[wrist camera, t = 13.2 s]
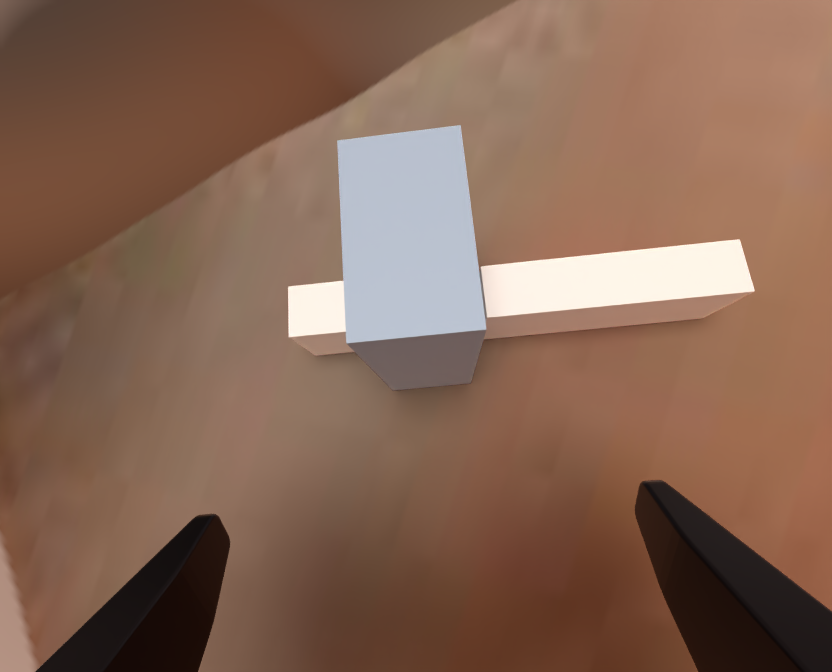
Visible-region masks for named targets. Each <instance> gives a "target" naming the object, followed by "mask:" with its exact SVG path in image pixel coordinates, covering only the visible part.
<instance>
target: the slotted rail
mask: <svg viewBox="0 0 832 672" xmlns="http://www.w3.org/2000/svg"><path fill="white" fill-rule="evenodd" d="M480 282H481V290H482V298H483V306H484V314H485V322H486V333H485V336H484V339H494V338H504V337H515V336H525V335H536V334H546V333H557V332H567V331H577V330H588V329H598V328H609V327H619V326H630V325H640V324H650V323H661V322H671V321H682V320H692V319H703V318H705V317H707V316H708V315H710V314H712V313H714V312H716V311H718V310H720V309H722V308H724V307H726V306H728V305H729V304H731V303H733V302H735V301H737V300H739V299H741V298H743V297H745V296H747V295H749V294H751V293H752V292H754V287H753V284H752V280H751V277H750V273H749V270H748V266H747V263H746V260H745V256H744V253H743V249H742V246H741V242H740V239H738V240H729V241H719V242H710V243H700V244H691V245H681V246H671V247H662V248H652V249H643V250H633V251H624V252H614V253H605V254H595V255H586V256H576V257H567V258H557V259H548V260H538V261H528V262H519V263H509V264H500V265H490V266H481V268H480ZM288 307H289V338H291V339H292V340H293V341H295V342H296V343H298V344H299V345H301V346H302V347H304V348H305V349H307V350H308V351H309V352H311V353H312V354H314V355H315V356H317V355H327V354H337V353H348V352H354V351H353V350H352V349H351V348H350V347H349V346H348V345H347V344H346V325H345V302H344V281H338V282H328V283H319V284H309V285H300V286H290V287H288Z"/></svg>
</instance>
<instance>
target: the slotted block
mask: <svg viewBox="0 0 832 672" xmlns="http://www.w3.org/2000/svg"><path fill="white" fill-rule="evenodd" d="M337 142H338V165H339V188H340V211H341V233H342V256H343V279H344V302H345V325H346V344H347V345H348V346H349V347H350V348H351V349H352V350H353V351H354V352H355V353H356V354H357V355H358V356H359V357H360V358H361V359H362V360H363V361H364V362H365V363H366V364H367V365H368V366H369V367H370V368H371V369H372V370H373V371H374V372H375V373H376V374H377V375H378V376H379V377H380V378H381V379H382V380H383V381H384V382H385V383H386V384H387V385H388V386H389V387H390V388H391V389H392V390H404V389H415V388H426V387H436V386H447V385H458V384H469V383H471V381H472V378H473V374H474V371H475V367H476V364H477V360H478V357H479V354H480V350H481V347H482V343H483V340H484V336H485V333H486V322H485V314H484V306H483V298H482V290H481V282H480V274H479V267H478V259H477V251H476V243H475V235H474V227H473V219H472V211H471V204H470V196H469V188H468V180H467V172H466V164H465V156H464V149H463V141H462V133H461V125H459V126H450V127H442V128H434V129H426V130H418V131H410V132H402V133H394V134H386V135H378V136H370V137H362V138H354V139H346V140H338V141H337Z"/></svg>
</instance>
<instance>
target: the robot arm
mask: <svg viewBox="0 0 832 672" xmlns="http://www.w3.org/2000/svg"><path fill="white" fill-rule="evenodd" d="M635 515H636V519H637V522H638V525H639V528H640V530H641V533H642V536H643V539H644V542H645V545H646V548H647V551H648V554H649V556H650V559H651V562H652V565H653V568H654V571H655V574H656V577H657V580H658V582H659V585H660V588H661V590H662V593H663V596H664V598H665V600H666V602H667V605H668V607H669V609H670V611H671V613H672V616H673V618H674V620H675V622H676V624H677V626H678V629H679V631H680V633H681V635H682V637H683V639H684V641H685V644H686V646H687V648H688V650H689V652H690V654H691V656H692V659H693V661H694V663H695V665H696V667H697V669H698V672H832V611H831V610H829V609H828V608H827V607H825V606H824V605H823V604H822V603H820V602H819V601H818V600H816V599H815V598H814V597H813V596H811V595H810V594H809V593H807V592H806V591H805V590H804V589H802V588H801V587H800V586H798V585H797V584H796V583H795V582H793V581H792V580H791V579H789V578H788V577H787V576H786V575H784V574H783V573H782V572H780V571H779V570H778V569H777V568H775V567H774V566H773V565H771V564H770V563H769V562H767V561H766V560H765V559H764V558H762V557H761V556H760V555H758V554H757V553H756V552H755V551H753V550H752V549H751V548H749V547H748V546H747V545H746V544H744V543H743V542H742V541H740V540H739V539H738V538H737V537H735V536H734V535H733V534H731V533H730V532H729V531H728V530H726V529H725V528H724V527H722V526H721V525H720V524H719V523H717V522H716V521H715V520H713V519H712V518H711V517H710V516H708V515H707V514H706V513H704V512H703V511H702V510H701V509H699V508H698V507H697V506H695V505H694V504H693V503H692V502H690V501H689V500H688V499H686V498H685V497H684V496H683V495H681V494H680V493H679V492H677V491H676V490H675V489H674V488H672V487H671V486H670V485H668V484H667V483H666V482H664V481H662V480H650V481H642V482H641V483H640V485H639V490H638V495H637V499H636V504H635ZM229 548H230V539H229V536H228V534H227V532H226V530H225V528H224V526H223V524H222V522H221V520H220V518H219V516H218V515H216V514H205V515H198V516H196V517H195V518H193V519H192V520H191V521H190V522H189V523H188V524H187V525H186V526H185V527H184V528H183V529H182V530H181V531H180V532H179V533H178V534H177V535H176V536H175V537H174V538H173V539H172V540H171V541H170V542H169V543H168V544H167V545H166V546H164V547H163V548H162V549H161V550H160V551H159V552H158V553H157V554H156V555H155V556H154V557H153V558H152V559H151V560H150V561H149V562H148V563H147V564H146V565H145V566H144V567H143V568H142V569H141V570H140V571H139V572H138V573H137V574H136V575H135V576H134V577H133V578H131V579H130V580H129V581H128V582H127V583H126V584H125V585H124V586H123V587H122V588H121V589H120V590H119V591H118V592H117V593H116V594H115V595H114V596H113V597H112V598H111V599H110V600H109V601H108V602H107V603H106V604H105V605H104V606H103V607H102V608H101V609H100V610H98V611H97V612H96V613H95V614H94V615H93V616H92V617H91V618H90V619H89V620H88V621H87V622H86V623H85V624H84V625H83V626H82V627H81V628H80V629H79V630H78V631H77V632H76V633H75V634H74V635H73V636H72V637H71V638H70V639H69V640H68V641H67V642H65V643H64V644H63V645H62V646H61V647H60V648H59V649H58V650H57V651H56V652H55V653H54V654H53V655H52V656H51V657H50V658H49V659H48V660H47V661H46V662H45V663H44V664H43V665H42V666H41V667H40V668H39V669H38V670H37V671H36V672H198V670H199V667H200V664H201V661H202V657H203V654H204V651H205V648H206V645H207V642H208V638H209V635H210V632H211V629H212V625H213V622H214V618H215V613H216V609H217V605H218V600H219V595H220V591H221V586H222V581H223V577H224V572H225V567H226V563H227V558H228V553H229Z"/></svg>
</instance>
